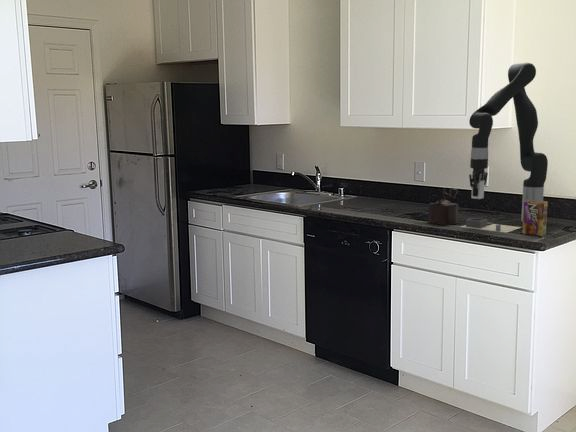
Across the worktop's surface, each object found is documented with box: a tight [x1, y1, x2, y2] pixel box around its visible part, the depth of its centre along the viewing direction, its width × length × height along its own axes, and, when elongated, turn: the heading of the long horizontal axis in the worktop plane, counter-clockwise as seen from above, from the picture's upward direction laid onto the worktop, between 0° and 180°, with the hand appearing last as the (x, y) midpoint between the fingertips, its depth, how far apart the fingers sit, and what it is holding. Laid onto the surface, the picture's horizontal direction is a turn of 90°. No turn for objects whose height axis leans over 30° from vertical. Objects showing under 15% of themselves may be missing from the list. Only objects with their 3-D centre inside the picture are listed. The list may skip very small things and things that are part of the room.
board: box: [460, 217, 523, 234], centre depth 295 cm, size 16×22×4 cm
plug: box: [470, 180, 485, 200], centre depth 295 cm, size 4×5×8 cm
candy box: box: [522, 200, 549, 239], centre depth 277 cm, size 9×4×15 cm, turn 47°
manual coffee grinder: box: [427, 187, 460, 226], centre depth 308 cm, size 16×11×18 cm
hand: (477, 195), depth 295 cm, fingers closed on plug, 4 cm apart
